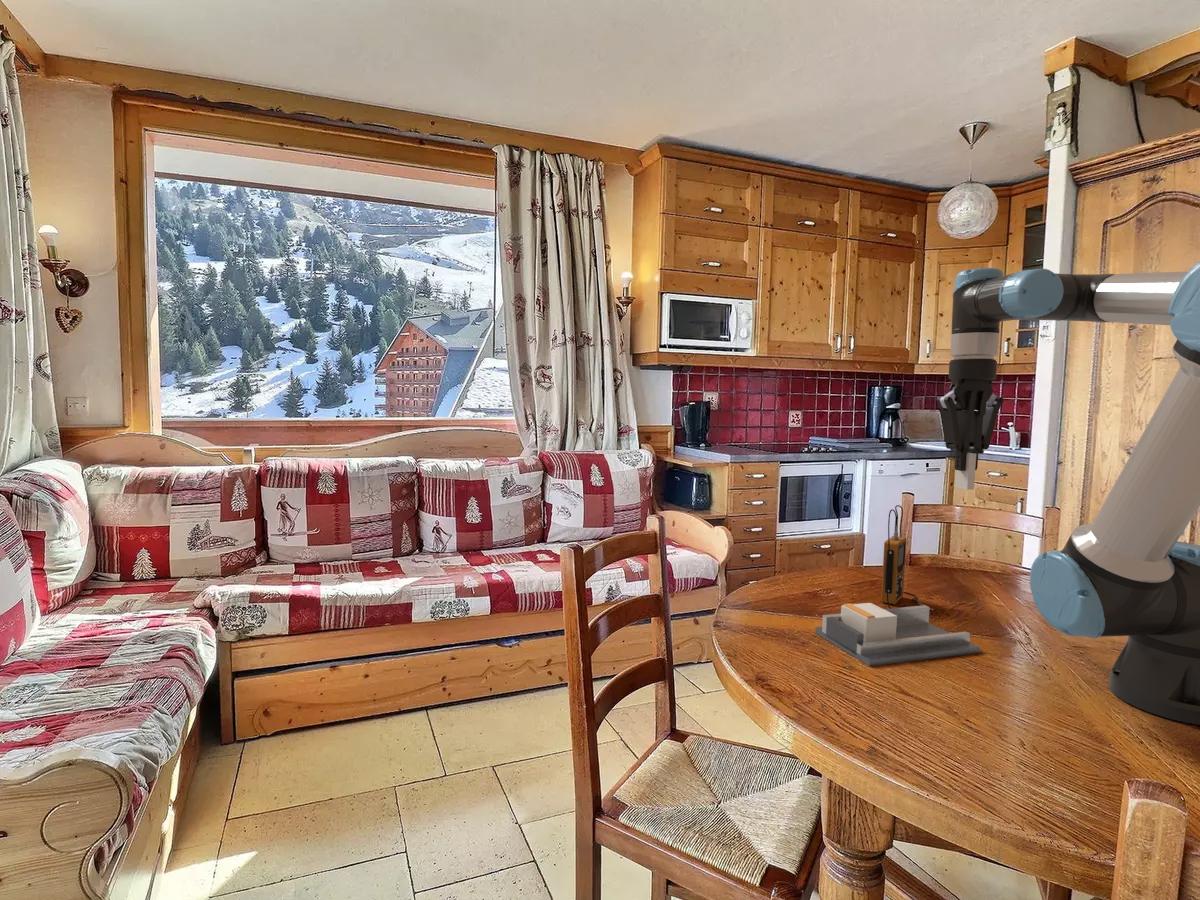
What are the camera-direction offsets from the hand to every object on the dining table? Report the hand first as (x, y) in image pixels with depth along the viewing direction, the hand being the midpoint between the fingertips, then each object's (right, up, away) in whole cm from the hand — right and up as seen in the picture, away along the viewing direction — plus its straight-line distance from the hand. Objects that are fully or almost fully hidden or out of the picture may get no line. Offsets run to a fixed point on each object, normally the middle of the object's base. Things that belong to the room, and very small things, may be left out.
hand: (964, 488), depth 122 cm
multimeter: (-2, -25, +17) cm, 30 cm away
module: (-20, -26, -6) cm, 33 cm away
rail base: (-15, -27, -5) cm, 31 cm away
